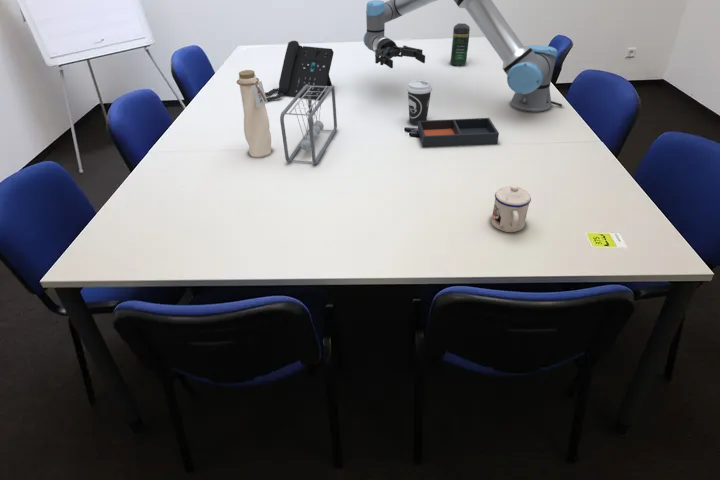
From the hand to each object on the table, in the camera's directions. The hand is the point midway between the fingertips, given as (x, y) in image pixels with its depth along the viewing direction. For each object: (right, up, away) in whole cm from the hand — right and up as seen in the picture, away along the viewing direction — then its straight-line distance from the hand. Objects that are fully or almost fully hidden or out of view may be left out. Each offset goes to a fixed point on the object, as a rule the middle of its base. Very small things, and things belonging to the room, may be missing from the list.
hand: (408, 62), depth 179 cm
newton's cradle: (-35, -34, -9) cm, 49 cm away
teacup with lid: (+22, -64, -51) cm, 85 cm away
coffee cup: (+4, -22, +5) cm, 23 cm away
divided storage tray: (+17, -30, -7) cm, 35 cm away
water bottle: (-53, -36, -11) cm, 65 cm away
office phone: (-48, -2, +33) cm, 58 cm away
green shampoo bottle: (+32, +22, +61) cm, 72 cm away
